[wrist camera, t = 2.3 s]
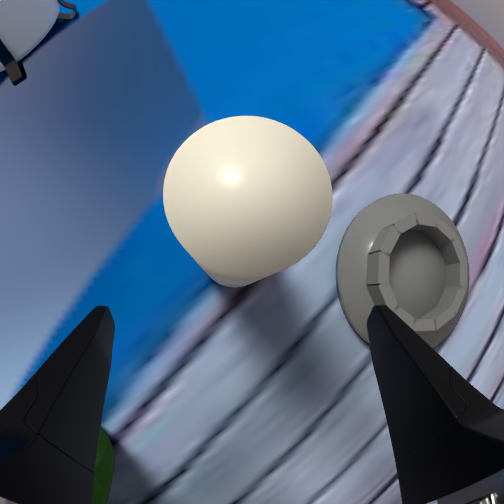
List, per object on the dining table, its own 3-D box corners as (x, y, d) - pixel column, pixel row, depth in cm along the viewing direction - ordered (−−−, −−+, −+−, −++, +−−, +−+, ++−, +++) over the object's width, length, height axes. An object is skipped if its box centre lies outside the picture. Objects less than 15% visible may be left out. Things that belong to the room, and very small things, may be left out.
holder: (373, 384, 20) (390, 393, 18) (306, 233, 21) (317, 225, 19) (478, 305, 22) (498, 304, 19) (426, 176, 23) (444, 166, 20)
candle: (218, 298, 20) (205, 306, 8) (190, 237, 21) (140, 152, 8) (279, 270, 21) (359, 231, 8) (250, 210, 21) (285, 97, 8)
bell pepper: (24, 439, 17) (-44, 486, 7) (51, 368, 19) (-36, 402, 9) (107, 498, 17) (65, 573, 8) (145, 435, 19) (100, 516, 9)
